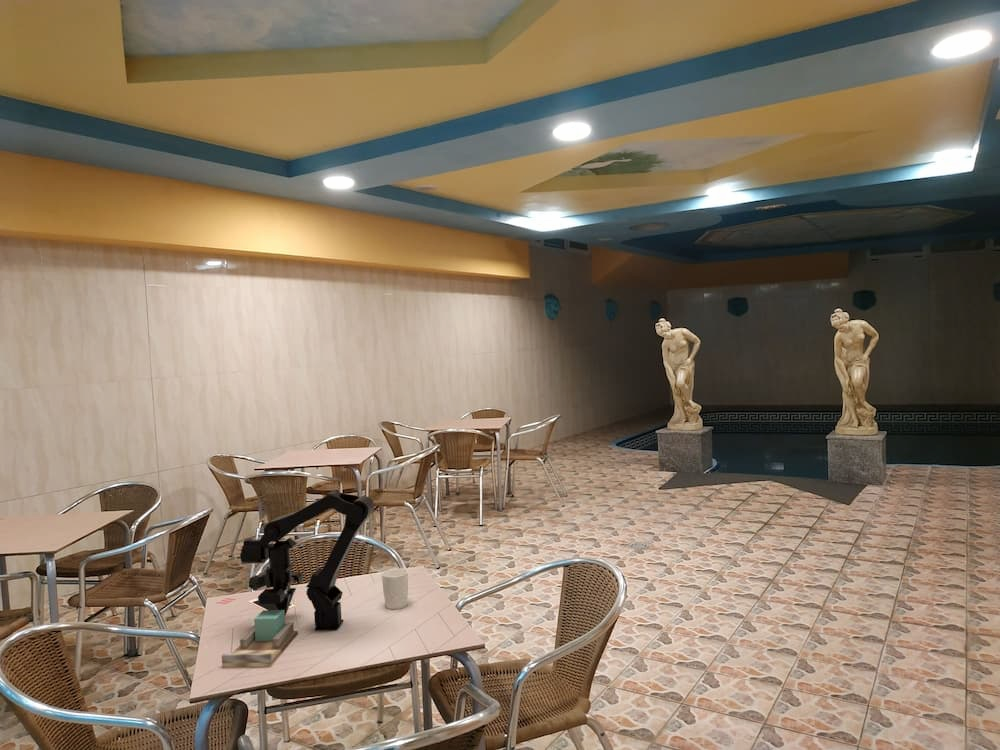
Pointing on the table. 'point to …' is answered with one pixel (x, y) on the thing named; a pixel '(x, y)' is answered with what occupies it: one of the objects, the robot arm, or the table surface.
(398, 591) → the white cup
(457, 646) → the table surface
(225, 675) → the table surface
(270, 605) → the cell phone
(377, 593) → the table surface
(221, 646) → the table surface
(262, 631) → the block
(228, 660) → the chute
